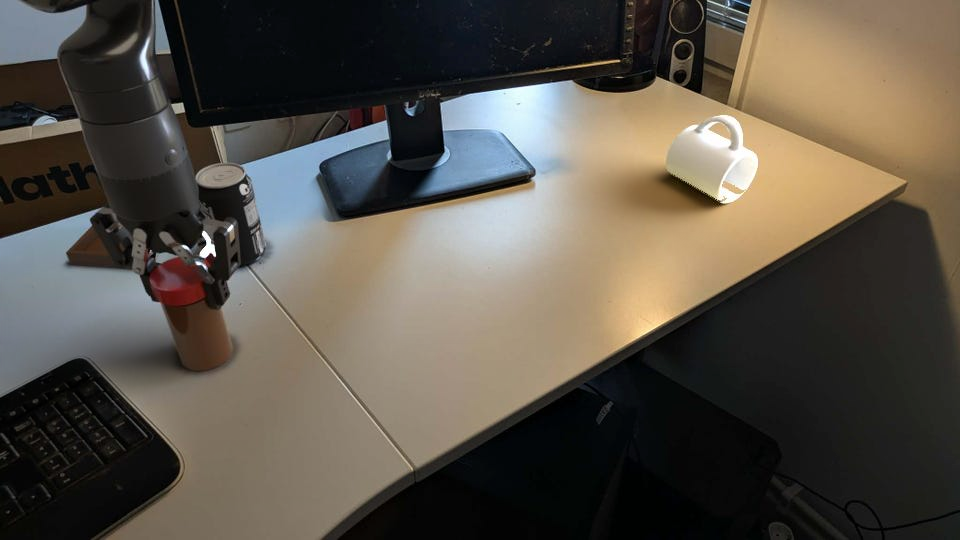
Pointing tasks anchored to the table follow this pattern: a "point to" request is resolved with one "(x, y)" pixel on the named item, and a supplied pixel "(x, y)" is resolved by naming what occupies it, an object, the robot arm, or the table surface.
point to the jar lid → (176, 283)
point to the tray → (91, 251)
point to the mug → (712, 158)
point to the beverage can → (233, 205)
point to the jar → (199, 334)
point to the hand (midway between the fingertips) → (190, 300)
